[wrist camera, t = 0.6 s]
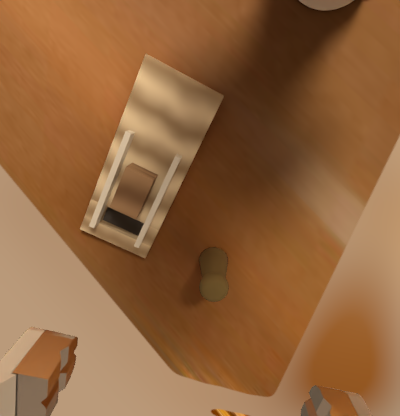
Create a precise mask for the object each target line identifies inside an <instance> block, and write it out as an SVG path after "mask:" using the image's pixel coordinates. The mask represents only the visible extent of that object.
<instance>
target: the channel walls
mask: <svg viewBox="0 0 400 416" xmlns="http://www.w3.org/2000/svg"><path fill="white" fill-rule="evenodd" d="M134 134H135V132H133V131H131V130H128V131H125V134H124V136H123V139H122V141H121V144H120V147H119V149H118V152H117V154H116V157H115V160H114V162H113V165H112V167H111V170H110V172H109V175H108V178H107V180H106V183H105V185H104V188H103V191H102V193H101V196H100V198H99V201H98V204H97V206H96V209H95V211H94V214H93V217H92V219H91V222H90V224H89V226H90V227H92V228H95V227H96V226H97V225H98V224H99V222H100V220H101V217H102V215H103V212H104V210H105V207H106V205H107V202H108V200H109V197H110V195H111V192H112V190H113V187H114V185H115V182H116V180H117V177H118V175H119V172H120V170H121V167H122V165H123V162H124V160H125V157H126V155H127V152H128V150H129V147H130V144H131V142H132V139H133V137H134ZM181 158H182V156H181V155H179V154H176V156H175V157H174V160H173V162H172V164H171V166H170V168H169V170H168V173H167V175H166V177H165V179H164V181H163V184H162V186H161V188H160V190H159V192H158V194H157V197H156V199H155V201H154V203H153V205H152V207H151V210H150V212H149V214H148V216H147V218H146V220H145V223H144V225H143V227H142V229H141V231H140V233H139V236H138V238H137V240H136V242H135V244H134V247H137V248H139V246H140V245H141V243H142V241H143V239H144V236H145V234H146V232H147V230H148V228H149V226H150V224H151V222H152V219H153V217H154V215H155V213H156V211H157V209H158V207H159V205H160V202H161V200H162V198H163V196H164V194H165V192H166V190H167V187H168V185H169V183H170V181H171V179H172V177H173V175H174V173H175V170H176V168H177V166H178V164H179V162H180V160H181Z"/></svg>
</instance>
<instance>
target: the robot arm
mask: <svg viewBox="0 0 400 416" xmlns="http://www.w3.org/2000/svg"><path fill="white" fill-rule="evenodd" d="M299 1H300V2H301V3H303V4H304V5H306V6H308V7H310V8H313V9H316V10H324V11H325V10H334V9H338V8H341V7H343V6H346V5H347V4H349V3H351V2H352V1H354V0H299ZM77 340H78V338H77V337H75V336H71V335H66V334H62V333H58V332H54V331H49V330H44V329H40V328H35V327H31V328H29V329H27V330H26V331H25V333H24V334H23V335H22V336H21V337H20V338H19V339H18V340H17V342H16V343H15V344H14V345H13V346H12V347H11V348H10V350H9V351H8V352H7V353H6V354H5V355H4V357H3V358H2V359H1V360H0V416H50V415H51V413H52V411H53V409H54V407H55V406H56V404H57V401H58V392H60V391H61V390H63V389H64V388H65V387H66V385H67V383H68V381H69V379H70V377H71V374H72V372H73V369H74V365H75V360H76V355H75V354H74V350H75V349H76V347H77ZM309 394H310V397H311V398H310V399H309V400H307V401H306V402H304V405H303V407H302V409H301V416H372V415H371V413H370V411H369V409H368V407H367V405H366V404H365V402H364V400H363V398H362V397H361V396H360V395H359V394H357V393H352V392H347V391H342V390H337V389H332V388H327V387H321V386H316V385H315V386H313V387H312V388H311V390H310V392H309Z"/></svg>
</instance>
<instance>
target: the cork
mask: <svg viewBox="0 0 400 416" xmlns="http://www.w3.org/2000/svg"><path fill="white" fill-rule="evenodd" d="M199 262H200V269H201V274H202V279H201V281H200V285H199V289H200V293H201V295H202V296H203V297H204V298H205V299H206V300H208V301H211V302H217V301H220V300H222V299H223V298H225V296H226V295H227V293H228V289H229V286H228V282H227V280H226V271H227V264H228V257H227V255H226V253H225V252H224V251H223V250H221V249H219V248H215V247H213V248H208V249H205V250H204V251H203V252H202V253H201V255H200V258H199Z"/></svg>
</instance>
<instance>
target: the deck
mask: <svg viewBox="0 0 400 416" xmlns="http://www.w3.org/2000/svg"><path fill="white" fill-rule="evenodd" d="M223 97H224V95H222V94H220V93H218V92H216V91H214V90H213V89H211V88H209V87H207V86H205V85H203V84H201V83H200V82H198V81H196V80H194V79H192V78H190V77H188V76H187V75H185V74H183V73H181V72H179V71H177V70H175V69H174V68H172V67H170V66H168V65H166V64H164V63H162V62H161V61H159V60H157V59H155V58H153V57H151V56H149V55H148V54H145V57H144V59H143V62H142V65H141V67H140V70H139V73H138V75H137V78H136V81H135V83H134V86H133V89H132V91H131V94H130V97H129V99H128V102H127V105H126V107H125V110H124V113H123V115H122V118H121V121H120V123H119V126H118V129H117V132H116V134H115V137H114V140H113V142H112V145H111V148H110V150H109V153H108V156H107V158H106V161H105V164H104V166H103V169H102V172H101V174H100V177H99V180H98V182H97V185H96V188H95V190H94V193H93V196H92V198H91V201H90V204H89V206H88V209H87V212H86V214H85V217H84V220H83V222H82V225H81V228H80V230H83V231H85V232H87V233H89V234H92V235H94V236H96V237H98V238H101V239H103V240H105V241H107V242H110V243H112V244H114V245H116V246H119V247H121V248H123V249H125V250H127V251H130V252H132V253H134V254H136V255H139V256H141V257H143V258H146V256H147V254H148V252H149V250H150V247H151V245H152V243H153V241H154V239H155V237H156V235H157V233H158V231H159V229H160V227H161V225H162V223H163V221H164V219H165V217H166V215H167V212H168V210H169V208H170V206H171V204H172V202H173V200H174V198H175V196H176V194H177V192H178V190H179V188H180V186H181V184H182V182H183V180H184V178H185V175H186V173H187V171H188V169H189V167H190V165H191V163H192V161H193V159H194V157H195V155H196V153H197V151H198V149H199V147H200V145H201V143H202V140H203V138H204V136H205V134H206V132H207V130H208V128H209V126H210V124H211V122H212V120H213V118H214V116H215V114H216V112H217V110H218V108H219V106H220V103H221V101H222V99H223ZM128 130H131V131H133V132H135V134H134V137H133V139H132V142H131V144H130V147H129V150H128V152H127V155H126V157H125V160H124V162H123V165H122V167H121V170H120V172H119V175H118V177H117V180H116V182H115V185H114V187H113V190H112V192H111V195H110V197H109V200H108V202H107V205H106V207H105V210H104V212H103V215H102V217H101V220H100V222H99V224H98V225H97V226H96V227H95V228H92V227H90V226H89V224H90V222H91V219H92V217H93V214H94V211H95V209H96V206H97V204H98V201H99V198H100V196H101V193H102V191H103V188H104V185H105V183H106V180H107V178H108V175H109V172H110V170H111V167H112V165H113V162H114V160H115V157H116V154H117V152H118V149H119V147H120V144H121V141H122V139H123V136H124V134H125V131H128ZM176 154H179V155H181V156H182V158H181V160H180V162H179V164H178V166H177V168H176V170H175V173H174V175H173V177H172V179H171V181H170V183H169V185H168V187H167V190H166V192H165V194H164V196H163V198H162V200H161V202H160V205H159V207H158V209H157V211H156V213H155V215H154V217H153V219H152V222H151V224H150V226H149V228H148V230H147V232H146V234H145V236H144V239H143V241H142V243H141V245H140V246H139V248H137V247H134V244H135V242H136V240H137V238H138V236H139V233H140V231H141V229H142V227H143V225H144V223H145V220H146V218H147V216H148V214H149V212H150V210H151V207H152V205H153V203H154V201H155V199H156V197H157V194H158V192H159V190H160V188H161V186H162V184H163V181H164V179H165V177H166V175H167V173H168V170H169V168H170V166H171V164H172V162H173V160H174V157H175V156H176ZM131 163H135V164H137V165H139V166H141V167H143V168H145V169H147V170H149V171H151V172H153V173H155V174H157V175H158V176H157V178H156V181H155V183H154V185H153V187H152V189H151V192H150V194H149V196H148V198H147V201H146V203H145V205H144V207H143V209H142V212H141V213H140V215H139V216H138V217H137V219H134V218H132V217H130V216H127V215H125V214H123V213H121V212H119V211H117V210H114V209H112V208H110V205H111V202H112V200H113V197H114V195H115V193H116V190H117V188H118V185H119V183H120V180H121V178H122V175H123V173H124V170H125V168H126V166H128V165H129V164H131Z"/></svg>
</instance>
